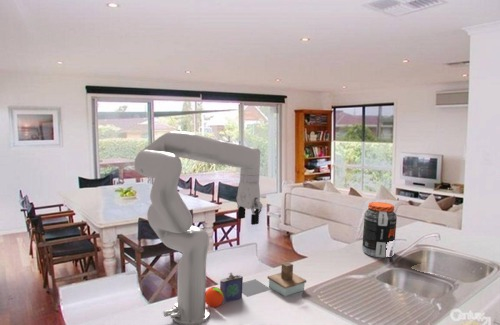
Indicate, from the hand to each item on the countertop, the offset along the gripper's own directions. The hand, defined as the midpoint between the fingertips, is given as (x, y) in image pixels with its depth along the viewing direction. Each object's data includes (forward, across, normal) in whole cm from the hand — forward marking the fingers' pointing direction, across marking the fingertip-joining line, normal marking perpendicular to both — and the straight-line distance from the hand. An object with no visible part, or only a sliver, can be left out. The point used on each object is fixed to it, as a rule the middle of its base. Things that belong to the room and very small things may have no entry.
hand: (247, 221), depth 150 cm
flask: (+28, +7, -11) cm, 31 cm away
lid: (+23, +10, +13) cm, 28 cm away
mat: (+27, +3, +1) cm, 27 cm away
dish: (+27, +10, +13) cm, 32 cm away
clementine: (+28, +8, -18) cm, 34 cm away
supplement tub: (+26, +2, +81) cm, 85 cm away
